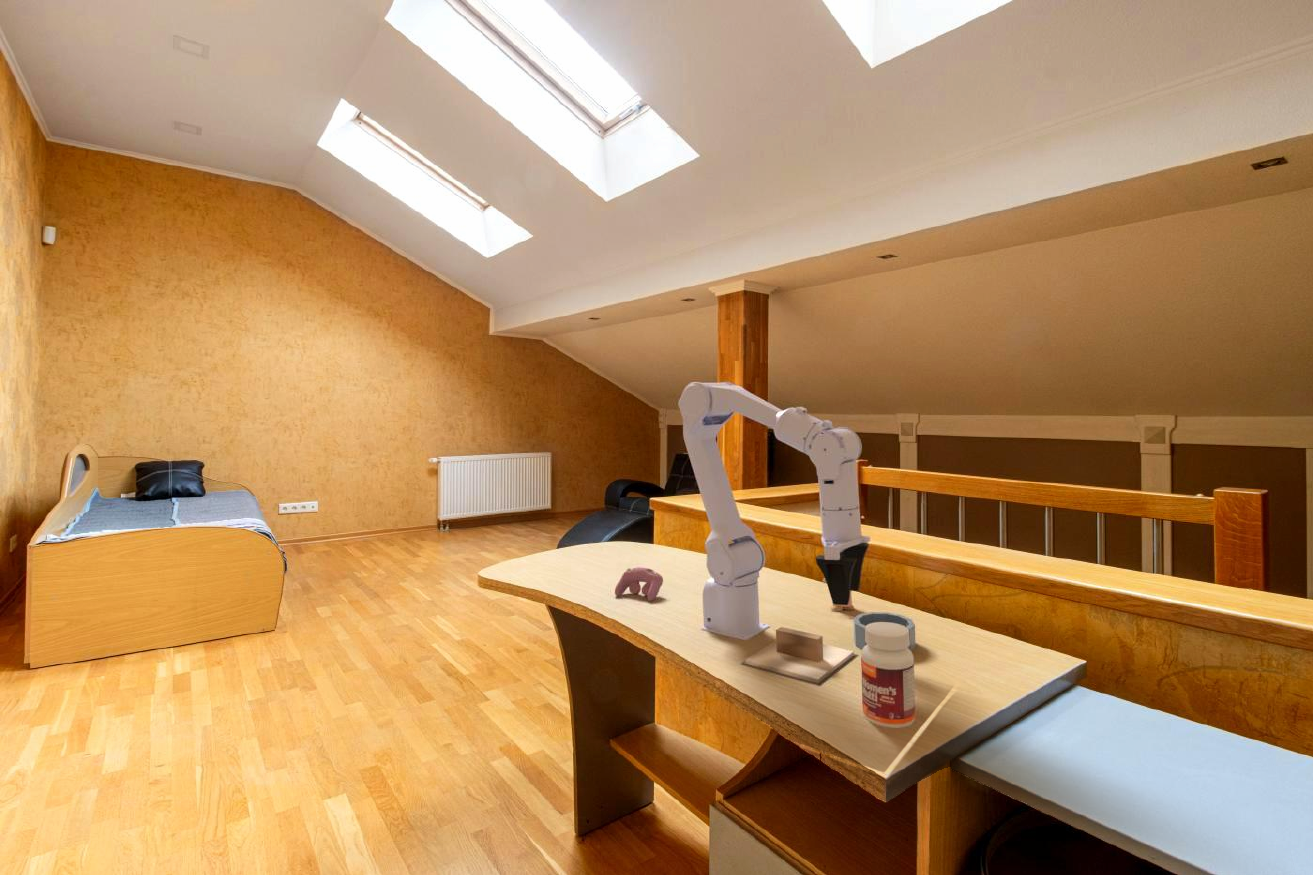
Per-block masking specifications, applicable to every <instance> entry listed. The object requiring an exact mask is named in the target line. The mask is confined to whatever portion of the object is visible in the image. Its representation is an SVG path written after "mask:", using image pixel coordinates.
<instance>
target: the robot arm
mask: <svg viewBox="0 0 1313 875" xmlns="http://www.w3.org/2000/svg"><path fill="white" fill-rule="evenodd" d="M677 404H678V408H679V410H680V411H679V412H680V414H681V417H682V436H683V440H684V441H683V442H684V444H685V447H686V448H685V449H686V451H687V454H688V458H689V460H690V463H691V467H692V470H693V473H694V478H695V481H696V484H697V487H698V490H699V494H700V497H701V500H702V502H703V505H704V509H705V513H706V517H707V519H708V523H709V527H710V529H711V531H710V533H709V535H708V537H707V539H706V541H705V543H704V547H705V550H706V568H707V572H708V574H709V575H710V577H709V578H708V579H707V581H706V582H705V584H704V585H703V586H704V587H703V590H702V608H703V609H702V611H703V613H702V614H703V626H701V627H700V629H701V630H702V631H707V632H709V633H714V634H718V635H722V636H726V637H730V638H734V639H739V640H741V641H742V640H743V641H748V640H750V639H751V638H753V637H754V636H756V635H758V634H760V633H762V632H763V631H765V630H767V629H769V628H770V624H767V623H763V622H760V606H759V604H760V601H759V599H760V598H759V581H758V580H759V578H760V571H762V570H763V568H764V567H765V563H766V553H765V550H764V547H763V546H762V545H761V543H760V542H759V541H758V540H757V537H756V535H755V532H754V530H753V529H752V528H751V527H749V525H747V524H745V523H744V522H743V521H742V519H741V515H740V513H739V510H738V507H737V503H736V500H735V496H734V493H733V490H732V486H731V484H730V481H729V478H728V474H727V471H726V467H725V465H724V462H723V458H722V456H721V453H720V449H719V446H718V443H717V440H716V439H717V436H718V434H719V432H720V430H721V429H722V428H723V427H724V426H725V425H726V423H727V422H729V421H730V419H731V418H732V417H733V416H734V415H735V413H737V414H739V415H741V416H743V417H746V418H748V419H750V420H753V421H755V422H757V423H760V424H762V425H763V426H764V425H765V426H766V427H768V428H771V429H773V433H774V436H775V438H776V440H778V441H780V442H782V443H784V444H786V445H787V446H790V447H792V448H794V449H796V450H797V451H799V452H802V453H803V454H805V455H807V456H809V459H810V460H811V462H812V463H813V465H814V467H815V469H816V476H817V480H818V481H817V482H818V493H819V506H820V520H821V537H820V540H821V544H822V546H823V552H824V553H823V554H824V555H823V554H818V555H817V556H816V557H815V562H816V565H817V566H818V568H819V570H820V571H821V573H822V574H823V577H824V578H825V580H826V582H827V583H826V585H827V588H828V593H829V594H830V598H831V602H832V601H833V604H837V605H848V603H849V598H850V591H851V592H852V591H853V592H858V591H859V590H860V585H861V579H862V577H861V575H862V570H863V564H864V560H865V556H866V553H867V551H868V549H869V546H870V544H869V542H871V537H870V535H862V524H861V511H860V496H859V482H858V471H857V460H858V459H859V458H860V456H861V454H862V450H863V445H862V441H861V438H860V437H859V435H858V434H857V433H856V432H855V431H853V430H852V429H851V428H850V427H847V426H840V427H836V428H834V426H833V422H832V421H830V420H828V419H826V420H825V419H824V420H822V419H819V418H817V417H815V416H812V415H811V414H809V413H807V412H808V409H807V408H805V407H803V406H796V407H788V408H786V409H784V410H783V409H781V408H779V407H777V406H775V405H774V404H771V403H770V402H768V401H766V400H764V399H762V398H761V397H759V396H758V395H755V394H753V393H751V392H750V391H748V390H746V389H745V388H744V387H742V386H740V385H735V384H733V383H731V382H729V381H722V382H699V381H694V382H693V381H692V382H690V383H688V384H687V385H686V386H685V388H684V389H683V390H682V393H681V395H680V398H679V400H678V403H677ZM730 542H732V543H730ZM833 604H832V605H833Z"/></svg>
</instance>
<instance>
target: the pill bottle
mask: <svg viewBox="0 0 1313 875" xmlns="http://www.w3.org/2000/svg"><path fill="white" fill-rule="evenodd" d="M865 642H866V643H867V645H866V646H864V647H863V649H861V651H860V652H861V653H860V661H861V695H862V696H861V697H862V698H861V701H862V702H861V704H862V709H861V710H862V715H863V717H864V718H865V719H866V720H867V721H869V722H870V723H873V724H874V725H877V726H880V727H885V728H892V729H894V728H895V729H897V728H898V729H899V728H906V727H909V726H911V725H912V724H913V723H915V720H916V704H915V703H916V698H915V697H916V693H915V690H916V689H915V658H914V657H915V656H914V654H913V652H911V651H910V650H909V649H908V648H907V647H909V645H910V640H909V630H908V628H906V627H905V626H903V625H900V624H896V623H890V622H875V623H870V624H868V625H866V627H865Z"/></svg>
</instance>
